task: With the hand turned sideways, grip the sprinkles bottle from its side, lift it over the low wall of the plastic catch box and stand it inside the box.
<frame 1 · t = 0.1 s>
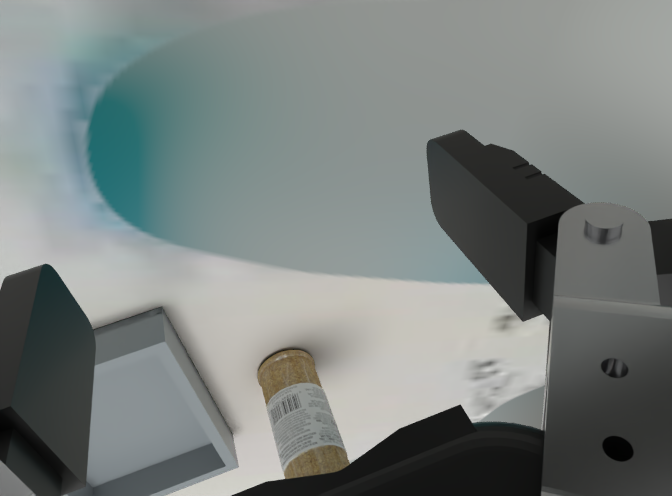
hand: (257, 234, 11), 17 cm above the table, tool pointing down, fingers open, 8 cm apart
sprinkles bottle: (285, 365, 42), on the table
catch box: (120, 408, 39), on the table
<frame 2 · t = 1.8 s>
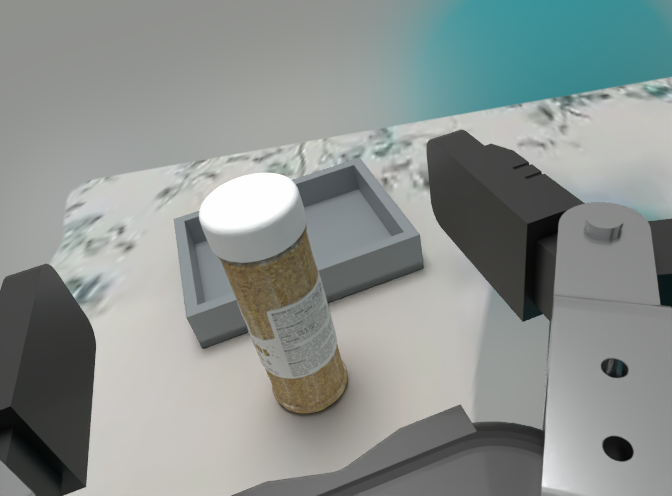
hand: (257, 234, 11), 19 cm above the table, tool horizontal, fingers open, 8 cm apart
sprinkles bottle: (312, 386, 32), on the table
catch box: (294, 257, 41), on the table
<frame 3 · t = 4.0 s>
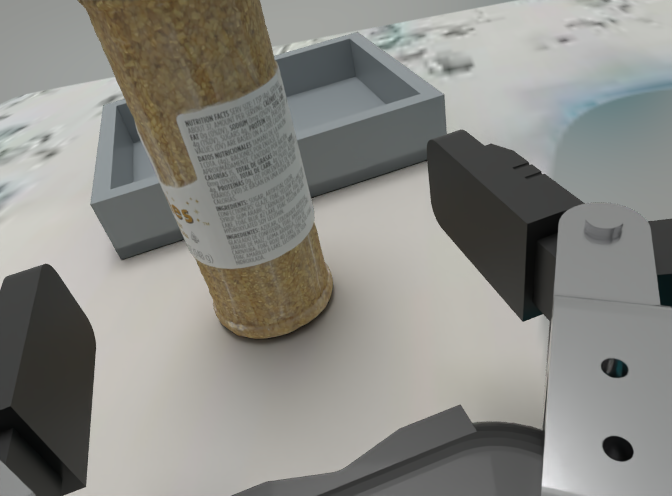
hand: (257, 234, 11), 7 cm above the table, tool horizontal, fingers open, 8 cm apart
sprinkles bottle: (278, 302, 20), on the table
catch box: (266, 151, 30), on the table
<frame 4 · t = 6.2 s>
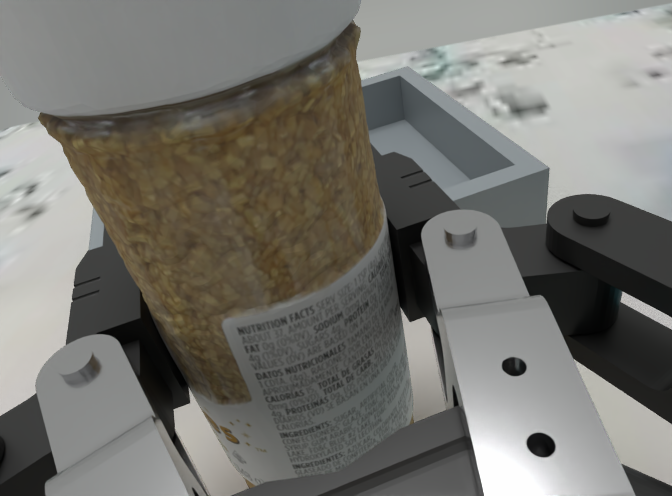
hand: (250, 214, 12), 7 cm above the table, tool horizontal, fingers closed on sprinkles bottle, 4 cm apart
sprinkles bottle: (344, 484, 14), on the table, touching gripper
catch box: (302, 222, 24), on the table
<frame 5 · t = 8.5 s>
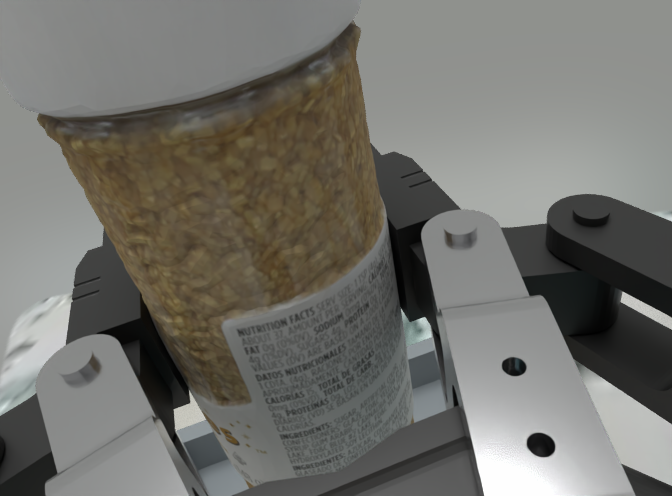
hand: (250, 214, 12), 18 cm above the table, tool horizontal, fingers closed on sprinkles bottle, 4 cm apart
sprinkles bottle: (345, 485, 14), point 10 cm above the table, touching gripper
when the fingers open (9 cm above the table, at t = 11.3 s): sprinkles bottle drops 1 cm, resting on catch box.
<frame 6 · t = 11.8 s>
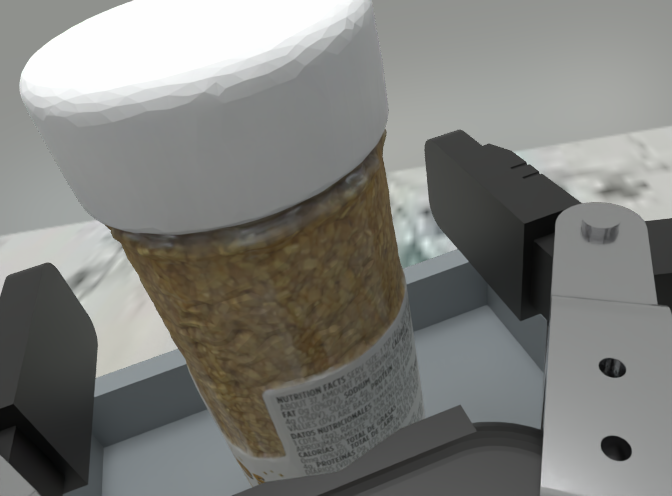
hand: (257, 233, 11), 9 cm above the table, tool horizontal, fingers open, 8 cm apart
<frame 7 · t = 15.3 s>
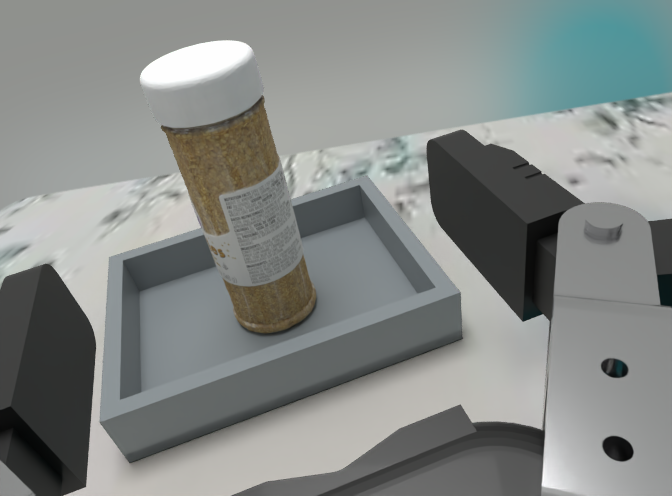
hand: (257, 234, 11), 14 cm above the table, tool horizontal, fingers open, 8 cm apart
sprinkles bottle: (278, 308, 29), resting on catch box
catch box: (275, 314, 29), on the table
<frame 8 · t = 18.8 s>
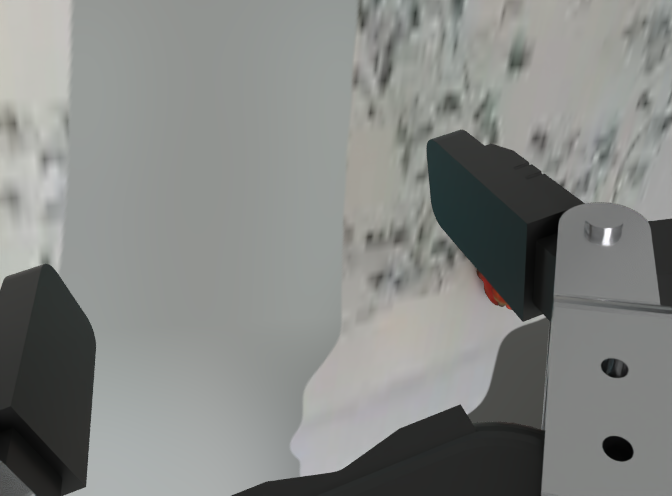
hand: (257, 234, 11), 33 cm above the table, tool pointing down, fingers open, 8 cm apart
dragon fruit: (501, 253, 63), on the table
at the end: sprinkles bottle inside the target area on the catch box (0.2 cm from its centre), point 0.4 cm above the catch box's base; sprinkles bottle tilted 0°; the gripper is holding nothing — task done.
